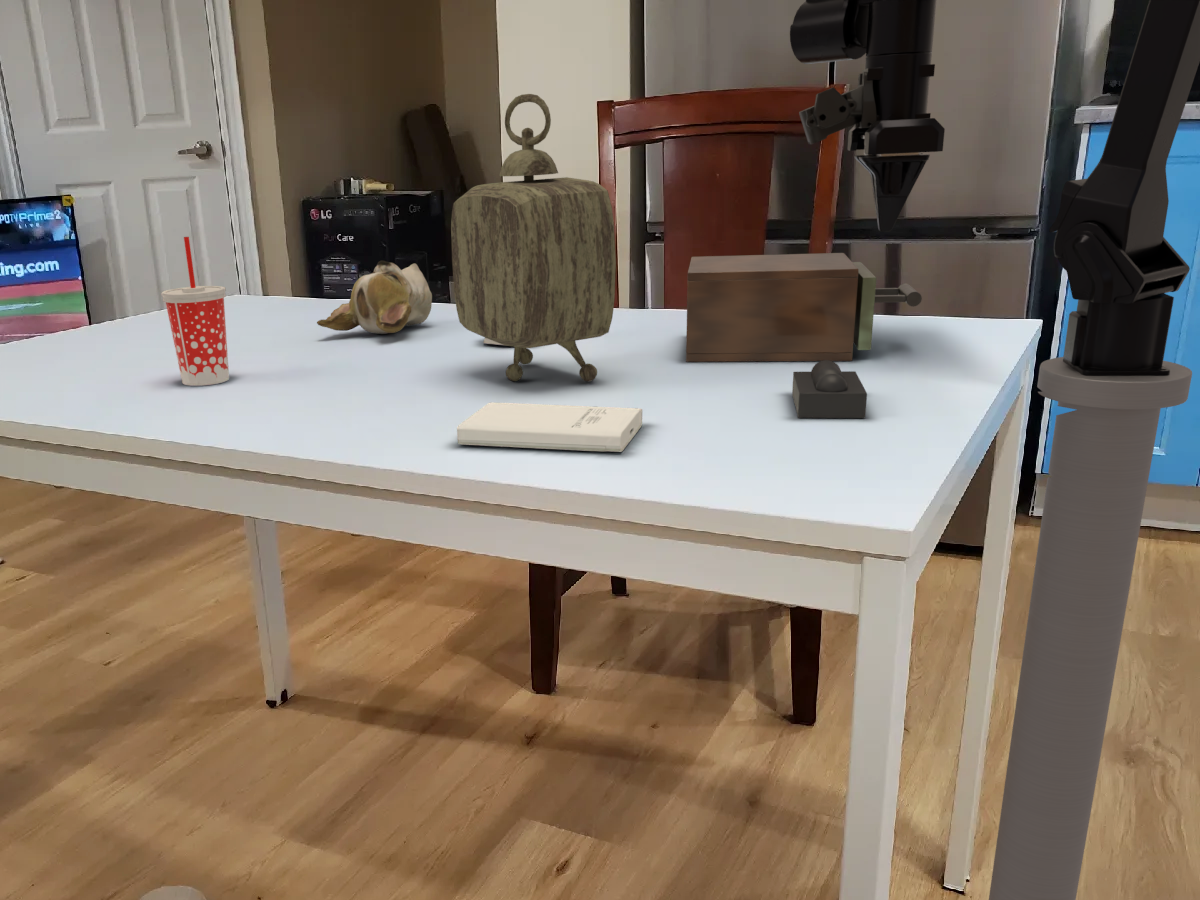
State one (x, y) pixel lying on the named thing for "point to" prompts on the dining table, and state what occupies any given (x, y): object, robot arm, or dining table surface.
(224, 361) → the beverage cup
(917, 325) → the dining table surface
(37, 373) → the dining table surface
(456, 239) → the tabletop clock
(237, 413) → the dining table surface
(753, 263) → the cabinet
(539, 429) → the hard drive
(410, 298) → the ceramic sculpture
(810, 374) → the raised capsule plate
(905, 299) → the drawer
